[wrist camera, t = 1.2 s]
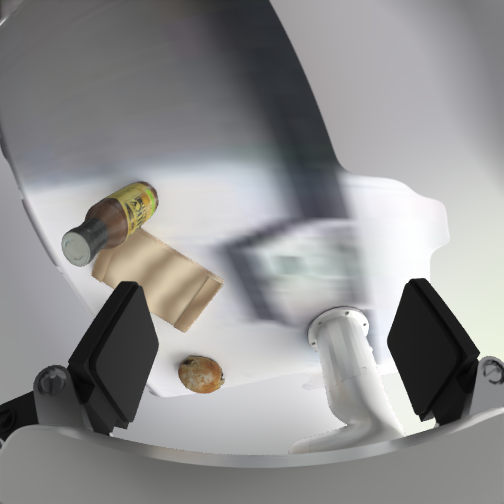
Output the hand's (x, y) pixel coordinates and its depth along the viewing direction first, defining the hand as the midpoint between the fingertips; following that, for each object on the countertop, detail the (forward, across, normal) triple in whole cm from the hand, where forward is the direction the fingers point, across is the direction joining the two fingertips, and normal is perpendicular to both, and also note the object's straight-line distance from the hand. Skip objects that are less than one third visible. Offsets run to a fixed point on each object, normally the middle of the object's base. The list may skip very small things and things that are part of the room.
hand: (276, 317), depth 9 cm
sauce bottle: (+34, +19, +5) cm, 39 cm away
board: (+34, +20, +19) cm, 44 cm away
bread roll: (+34, +14, +45) cm, 58 cm away
